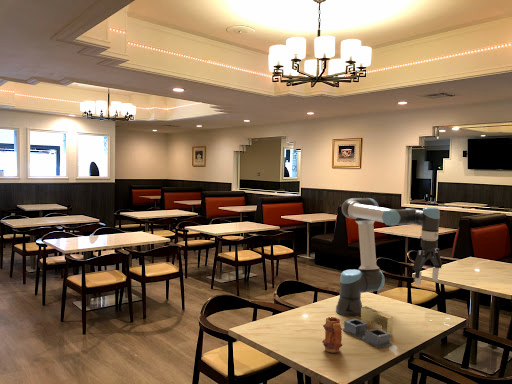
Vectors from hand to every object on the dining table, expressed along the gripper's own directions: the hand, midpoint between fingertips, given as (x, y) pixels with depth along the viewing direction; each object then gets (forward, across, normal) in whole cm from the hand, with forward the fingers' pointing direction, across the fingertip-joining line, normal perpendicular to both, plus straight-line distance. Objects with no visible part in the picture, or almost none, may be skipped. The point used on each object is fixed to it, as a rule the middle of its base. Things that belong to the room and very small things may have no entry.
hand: (426, 282), depth 201 cm
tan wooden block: (+27, -14, +17) cm, 35 cm away
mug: (+27, -52, +8) cm, 59 cm away
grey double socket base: (+27, -26, +13) cm, 40 cm away
